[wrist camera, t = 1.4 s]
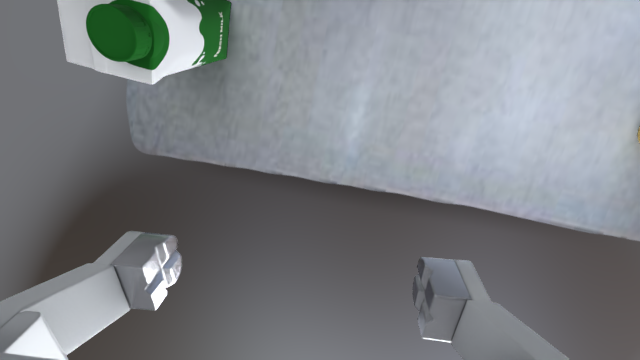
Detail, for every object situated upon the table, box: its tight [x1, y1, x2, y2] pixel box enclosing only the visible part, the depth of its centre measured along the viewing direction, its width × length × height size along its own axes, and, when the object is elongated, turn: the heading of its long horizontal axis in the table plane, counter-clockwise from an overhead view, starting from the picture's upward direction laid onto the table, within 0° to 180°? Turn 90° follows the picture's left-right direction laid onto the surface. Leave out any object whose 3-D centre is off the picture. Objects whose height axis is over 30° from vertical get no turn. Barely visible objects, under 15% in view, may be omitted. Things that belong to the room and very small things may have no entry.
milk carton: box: [57, 0, 231, 85], centre depth 31 cm, size 9×9×20 cm
